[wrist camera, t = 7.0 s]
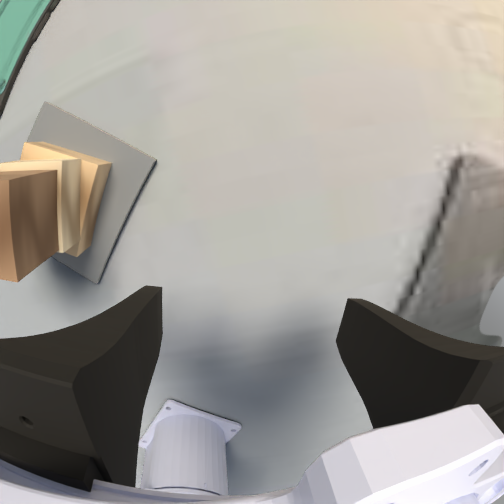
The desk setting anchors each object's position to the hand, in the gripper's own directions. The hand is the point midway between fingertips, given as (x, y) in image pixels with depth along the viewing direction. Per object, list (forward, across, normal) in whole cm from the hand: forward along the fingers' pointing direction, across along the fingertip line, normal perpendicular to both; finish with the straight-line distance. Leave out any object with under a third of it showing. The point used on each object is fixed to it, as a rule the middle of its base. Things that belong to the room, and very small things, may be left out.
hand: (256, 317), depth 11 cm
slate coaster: (+10, +13, -3) cm, 17 cm away
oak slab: (+10, +13, -3) cm, 16 cm away
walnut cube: (+5, +13, -2) cm, 14 cm away
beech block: (+7, +13, -3) cm, 15 cm away
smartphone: (+11, +21, -16) cm, 29 cm away
